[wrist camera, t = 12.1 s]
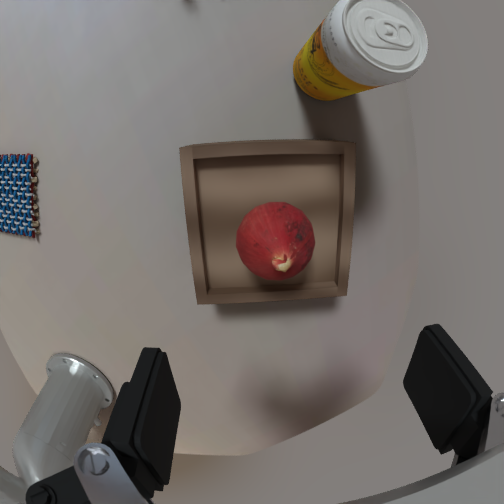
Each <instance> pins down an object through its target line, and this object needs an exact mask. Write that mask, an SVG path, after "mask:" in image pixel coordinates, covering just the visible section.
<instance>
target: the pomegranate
mask: <svg viewBox="0 0 504 504" xmlns="http://www.w3.org/2000/svg"><path fill="white" fill-rule="evenodd" d="M314 247H315V237H314V232H313V227H312V223H311V222H310V221H309V219H308V218H307V217H306V215H305V214H304V213H303V211H302V210H300V209H298V208H296V207H294V206H292V205H291V204H289V203H287V202H268V203H265V204H262V205H259V206H256V207H255V208H253V209H252V210H251V211H250V212H249V213H247V214H246V215H245V216H244V218H243V220H242V222H241V224H240V225H239V227H238V230H237V234H236V248H237V251H238V253H239V256H240V259H241V261H242V262H243V264H244V265H245V266H246V267H247V268H248V269H249V270H250V271H251V272H252V273H254V274H255V275H257V276H259V277H262V278H264V279H266V280H279V281H281V280H285V279H288V278H292V277H294V276H295V275H297V274H298V273H300V272H301V271H302V270H304V268H305V267H306V266H307V264H308V263H309V261H310V260H311V258H312V255H313V251H314Z"/></svg>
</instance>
